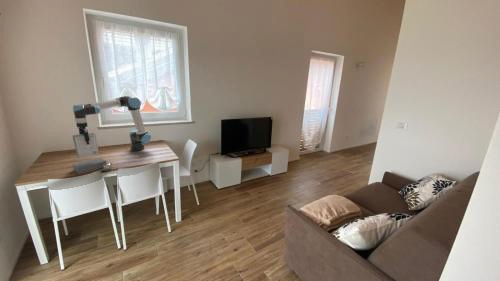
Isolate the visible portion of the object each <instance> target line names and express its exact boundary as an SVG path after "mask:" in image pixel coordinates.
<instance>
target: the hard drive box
mask: <svg viewBox="0 0 500 281" xmlns="http://www.w3.org/2000/svg"><path fill="white" fill-rule="evenodd" d="M88 135H89V139H90V141H89V144H90V148H86V144H85V138H84V135H83V134H79V133H78V134H74V135H72V139H73V140H72V141H73V144H74V149H75V152H76V156H77V158H78V159H82V158H86V157H90V156H96V155H99V154H100V153H99V147H98V143H97V142H98V141H97V138H96V134H95V133H94V132H88ZM87 140H88V139H87Z"/></svg>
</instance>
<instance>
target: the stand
mask: <svg viewBox="0 0 500 281" xmlns="http://www.w3.org/2000/svg"><path fill="white" fill-rule="evenodd" d="M105 163H107V160H105V159H104V158H102V157H97V158H93V159H92V158H91V159H87V160H84V161H80V162H76V163H72V164H71V165H72V170H73V171H74V172H76V174H78V175H83V174H86V173H89V172H93V171H96V170H97V171H98V170H100V169H103V164H105Z"/></svg>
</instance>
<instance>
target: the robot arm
mask: <svg viewBox="0 0 500 281" xmlns="http://www.w3.org/2000/svg"><path fill="white" fill-rule="evenodd" d="M141 105H142V102H141V100H140V98H138V97H136V96H129V95H126V96H125V95H124V96H119V97H115V98H114V99H109V100H105V101H98V102H91V103H87V104H74V105H72V110H73V114H74V115H73V116H74V118H75V119H74V121H75V123H76V127H77V129H78V135H79V134H83V135H84V138H85V144H86V148H90V144H89V141H90V139H89V135H88V133H89V132H88V131H89V130H88V129H87V127H88V120H87V116H89V115H90V116H91V115H99V114H100V113H101V111H102V110H106V109H111V108H116V107H117V108H121V107H123V108H127V110H128V112H130V114H131V117H132V121H133V124H134V127H135V130H131V131H130V132H129V139H130V143H131V144H130V148H129V151H131V152H140V151H143V150H144V149H145V146H144V144H148V143H150V141H151V139H152V136H151V134H150V133H148V132H149V131H148V130H146V127H145V124H144V121H143V118H142V114H141V111H140V109H141ZM87 139H88V140H87Z"/></svg>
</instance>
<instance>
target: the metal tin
mask: <svg viewBox="0 0 500 281" xmlns="http://www.w3.org/2000/svg"><path fill="white" fill-rule="evenodd" d="M102 169H103V171H106V172H107V171H108V172H109V171H111V170H113V164H112V162H106V163H105V164H103V168H102Z"/></svg>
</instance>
